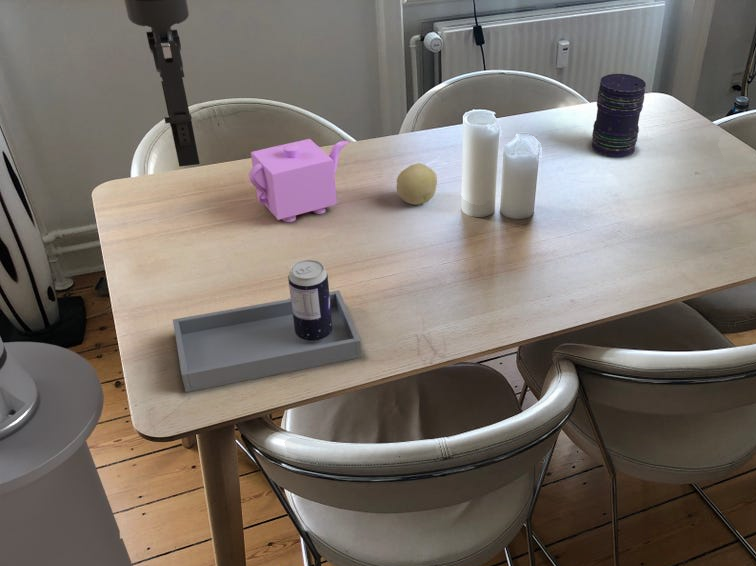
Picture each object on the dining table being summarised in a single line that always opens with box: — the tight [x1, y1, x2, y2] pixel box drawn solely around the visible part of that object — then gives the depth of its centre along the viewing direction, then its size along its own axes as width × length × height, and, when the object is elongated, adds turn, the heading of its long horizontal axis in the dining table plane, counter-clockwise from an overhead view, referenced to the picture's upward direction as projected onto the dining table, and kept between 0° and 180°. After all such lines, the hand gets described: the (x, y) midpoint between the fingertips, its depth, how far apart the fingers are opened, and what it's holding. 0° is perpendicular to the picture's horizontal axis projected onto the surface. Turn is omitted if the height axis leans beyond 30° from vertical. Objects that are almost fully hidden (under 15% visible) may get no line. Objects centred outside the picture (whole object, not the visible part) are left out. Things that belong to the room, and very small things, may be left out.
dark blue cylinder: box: [590, 73, 647, 159], centre depth 180 cm, size 10×10×15 cm
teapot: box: [248, 138, 350, 223], centre depth 156 cm, size 20×10×12 cm, turn 123°
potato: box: [395, 163, 438, 205], centre depth 160 cm, size 8×8×8 cm
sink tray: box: [172, 290, 362, 393], centre depth 126 cm, size 26×14×3 cm, turn 111°
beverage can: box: [287, 259, 332, 342], centre depth 124 cm, size 6×6×12 cm
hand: (184, 143), depth 119 cm, fingers open, 13 cm apart
